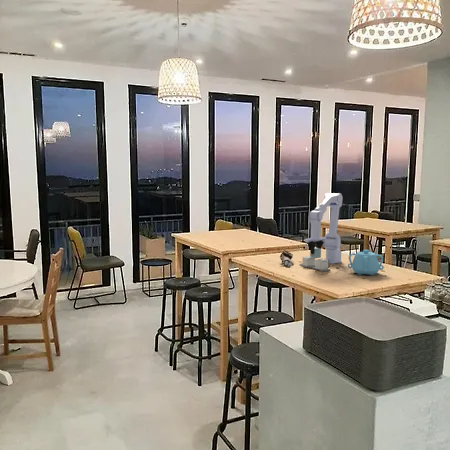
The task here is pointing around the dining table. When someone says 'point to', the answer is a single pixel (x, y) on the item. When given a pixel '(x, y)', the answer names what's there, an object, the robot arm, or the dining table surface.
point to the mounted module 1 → (308, 261)
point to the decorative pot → (365, 263)
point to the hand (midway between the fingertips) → (315, 253)
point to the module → (316, 253)
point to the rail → (315, 268)
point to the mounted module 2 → (321, 264)
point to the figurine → (286, 258)
